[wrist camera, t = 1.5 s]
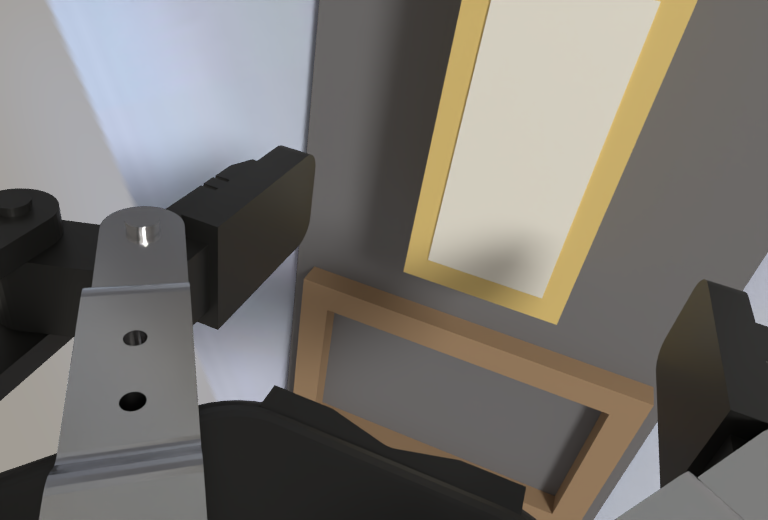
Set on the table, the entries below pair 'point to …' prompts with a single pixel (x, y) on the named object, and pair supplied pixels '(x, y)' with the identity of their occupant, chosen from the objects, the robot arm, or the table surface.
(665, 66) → the card box
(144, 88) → the table surface
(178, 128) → the table surface
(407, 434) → the mat
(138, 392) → the robot arm
